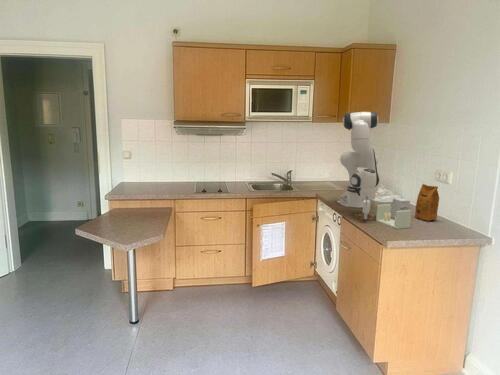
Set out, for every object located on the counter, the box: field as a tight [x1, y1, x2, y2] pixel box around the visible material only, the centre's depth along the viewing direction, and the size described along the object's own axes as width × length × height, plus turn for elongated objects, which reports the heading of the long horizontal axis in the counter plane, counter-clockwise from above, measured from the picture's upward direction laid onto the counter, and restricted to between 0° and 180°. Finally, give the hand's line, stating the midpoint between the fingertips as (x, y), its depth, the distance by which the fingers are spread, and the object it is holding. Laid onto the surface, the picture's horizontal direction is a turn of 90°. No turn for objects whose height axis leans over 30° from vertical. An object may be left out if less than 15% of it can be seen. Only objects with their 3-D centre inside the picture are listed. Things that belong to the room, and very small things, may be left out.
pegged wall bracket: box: [374, 203, 412, 230], centre depth 213 cm, size 18×10×10 cm, turn 21°
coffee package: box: [414, 183, 440, 222], centre depth 227 cm, size 10×12×22 cm
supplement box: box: [391, 198, 411, 220], centre depth 226 cm, size 7×7×13 cm
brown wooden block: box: [353, 213, 376, 221], centre depth 223 cm, size 14×5×4 cm, turn 100°
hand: (365, 217), depth 223 cm, fingers open, 8 cm apart
